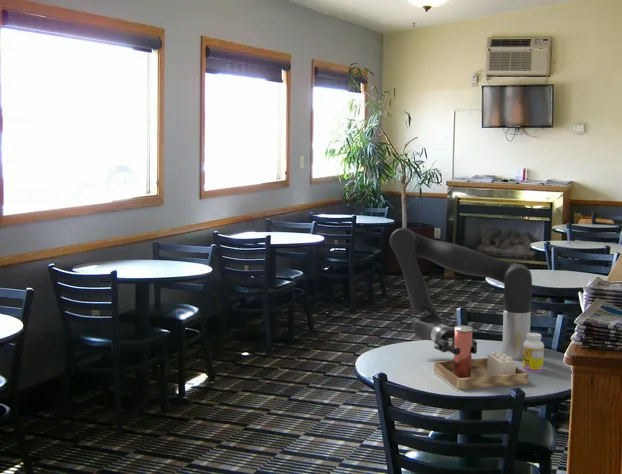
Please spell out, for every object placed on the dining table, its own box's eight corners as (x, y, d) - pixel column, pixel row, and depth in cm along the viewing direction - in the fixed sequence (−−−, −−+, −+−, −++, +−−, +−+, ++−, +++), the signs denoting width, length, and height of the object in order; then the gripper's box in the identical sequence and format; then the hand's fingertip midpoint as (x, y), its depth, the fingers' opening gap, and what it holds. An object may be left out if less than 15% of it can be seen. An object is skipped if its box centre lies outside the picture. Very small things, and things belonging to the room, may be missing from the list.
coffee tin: (466, 373, 263) (468, 325, 261) (474, 378, 258) (475, 329, 255) (450, 374, 262) (451, 326, 260) (457, 379, 256) (458, 330, 254)
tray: (499, 368, 273) (499, 357, 273) (527, 386, 254) (528, 373, 254) (433, 373, 268) (434, 361, 267) (457, 391, 249) (458, 379, 249)
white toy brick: (501, 370, 268) (501, 349, 267) (515, 379, 259) (516, 357, 258) (487, 371, 267) (487, 350, 266) (500, 380, 257) (501, 358, 256)
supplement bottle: (519, 369, 273) (520, 331, 271) (538, 368, 273) (540, 331, 272) (526, 375, 266) (527, 337, 265) (546, 374, 267) (547, 336, 265)
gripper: (425, 328, 270) (445, 341, 254) (465, 325, 273) (487, 338, 257) (425, 349, 271) (444, 364, 255) (465, 347, 274) (486, 361, 258)
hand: (466, 351), depth 256 cm, fingers closed on coffee tin, 5 cm apart
